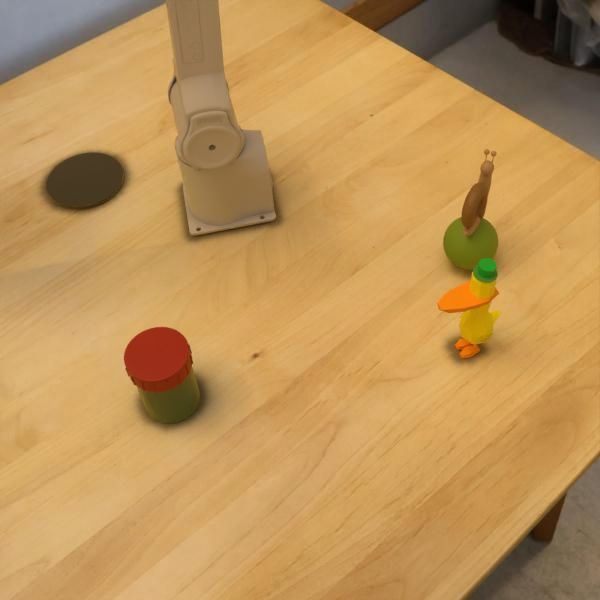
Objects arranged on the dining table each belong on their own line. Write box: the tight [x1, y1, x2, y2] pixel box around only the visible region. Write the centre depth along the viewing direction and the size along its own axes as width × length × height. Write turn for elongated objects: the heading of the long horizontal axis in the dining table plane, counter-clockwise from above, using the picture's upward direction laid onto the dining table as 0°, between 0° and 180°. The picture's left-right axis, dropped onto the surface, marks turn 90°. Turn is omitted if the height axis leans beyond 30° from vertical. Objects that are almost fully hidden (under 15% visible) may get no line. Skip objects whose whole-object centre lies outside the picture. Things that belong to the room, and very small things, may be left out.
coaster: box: [45, 151, 125, 210], centre depth 99 cm, size 9×9×1 cm
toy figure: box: [436, 258, 503, 359], centre depth 76 cm, size 7×4×12 cm, turn 112°
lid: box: [123, 326, 194, 393], centre depth 75 cm, size 6×6×2 cm
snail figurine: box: [442, 148, 499, 270], centre depth 83 cm, size 5×6×12 cm
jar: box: [136, 367, 201, 424], centre depth 77 cm, size 5×5×7 cm
